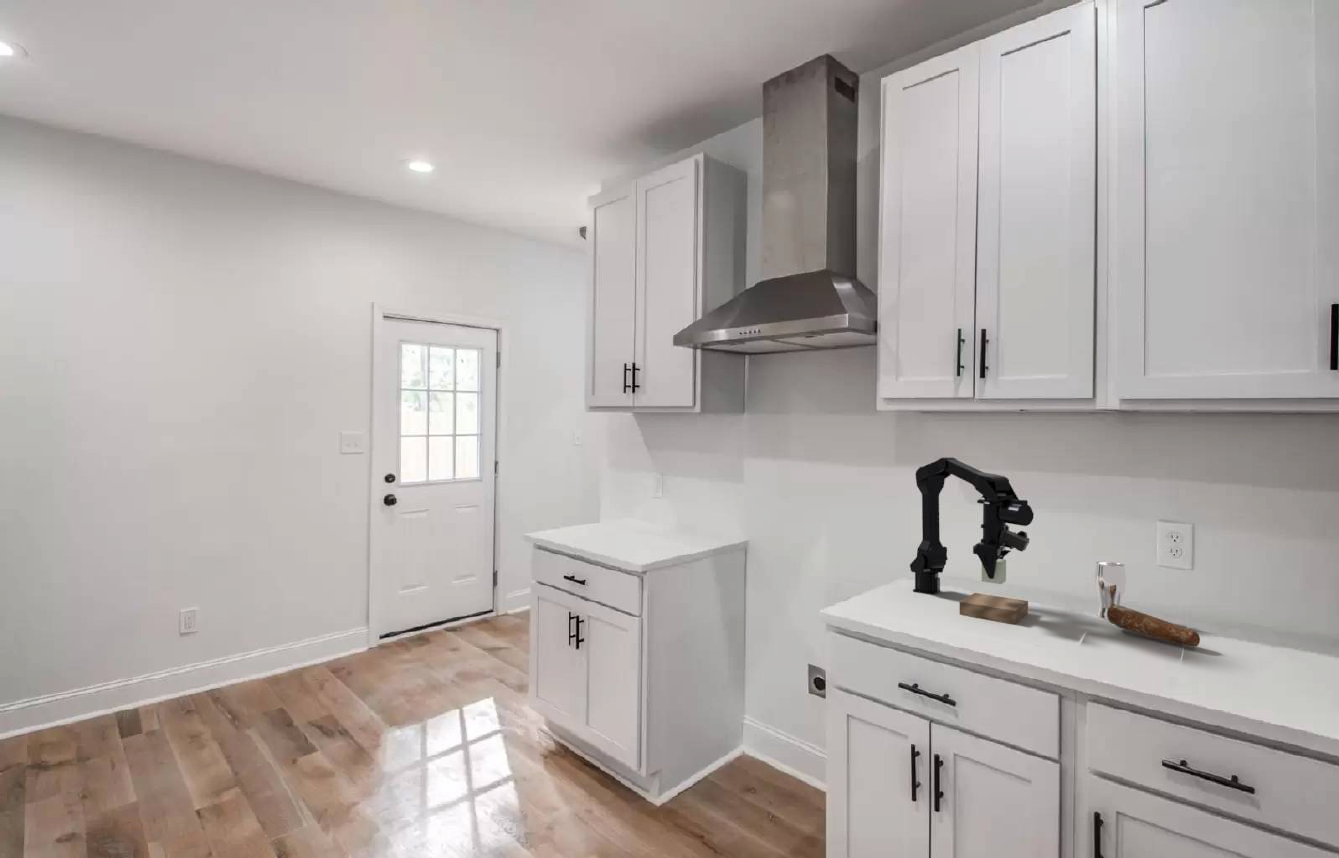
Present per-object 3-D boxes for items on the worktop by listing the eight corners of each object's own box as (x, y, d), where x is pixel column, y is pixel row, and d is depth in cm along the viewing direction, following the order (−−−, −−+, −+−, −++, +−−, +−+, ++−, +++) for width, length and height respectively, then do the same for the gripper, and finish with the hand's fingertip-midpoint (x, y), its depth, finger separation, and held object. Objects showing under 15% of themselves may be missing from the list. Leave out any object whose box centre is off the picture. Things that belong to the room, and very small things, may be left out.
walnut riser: (959, 616, 180) (959, 601, 181) (974, 606, 191) (974, 592, 191) (1015, 626, 171) (1015, 611, 171) (1027, 615, 182) (1027, 601, 182)
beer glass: (1099, 620, 175) (1099, 565, 176) (1091, 614, 182) (1091, 560, 182) (1129, 623, 173) (1129, 567, 174) (1119, 616, 180) (1120, 562, 180)
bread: (1112, 625, 170) (1116, 604, 170) (1202, 649, 153) (1205, 626, 154) (1101, 623, 166) (1105, 601, 167) (1192, 647, 150) (1195, 623, 151)
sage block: (981, 581, 181) (981, 559, 181) (986, 578, 185) (986, 557, 185) (1001, 584, 178) (1001, 562, 178) (1005, 581, 182) (1006, 559, 182)
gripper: (1018, 527, 169) (1017, 587, 169) (1034, 520, 183) (1033, 576, 183) (972, 523, 176) (972, 580, 176) (991, 516, 190) (991, 570, 190)
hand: (993, 577), depth 181 cm, fingers closed on sage block, 5 cm apart
